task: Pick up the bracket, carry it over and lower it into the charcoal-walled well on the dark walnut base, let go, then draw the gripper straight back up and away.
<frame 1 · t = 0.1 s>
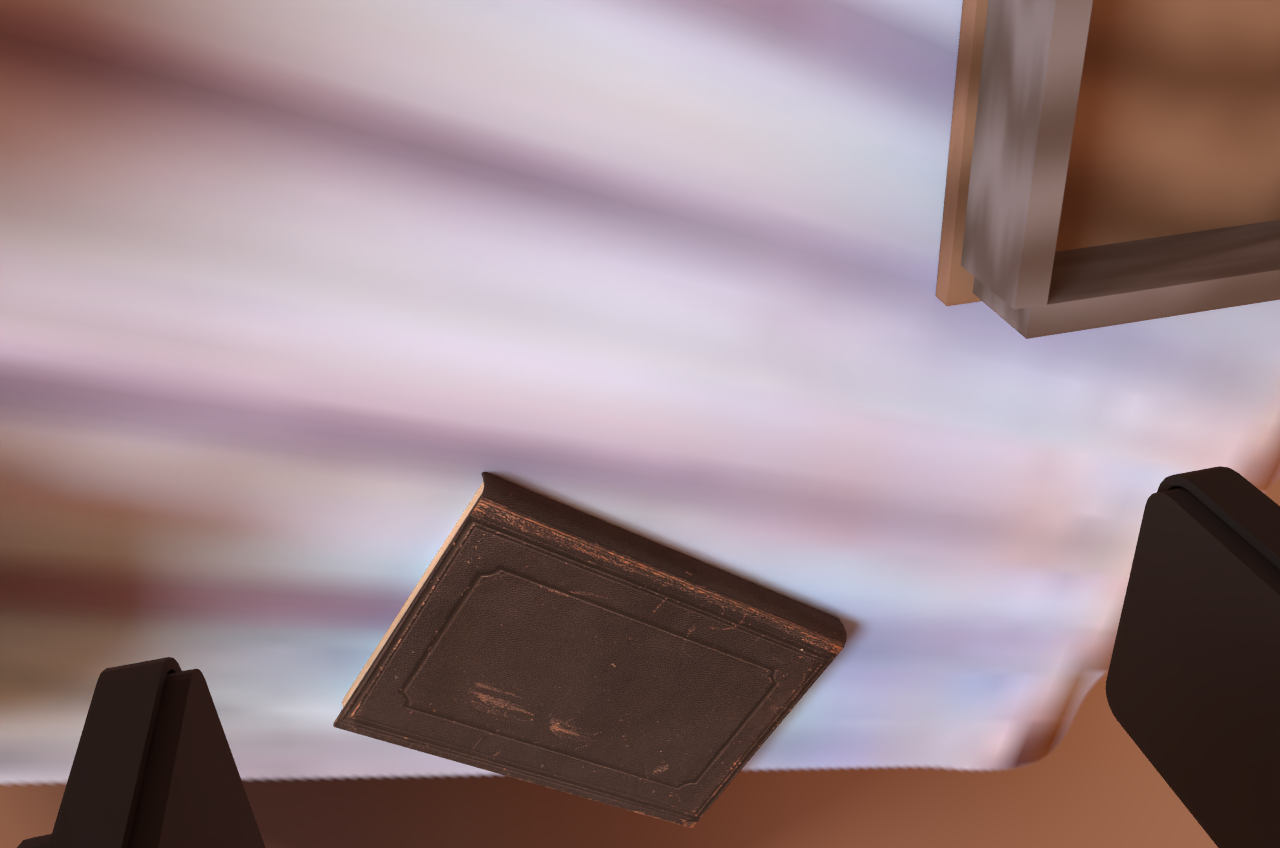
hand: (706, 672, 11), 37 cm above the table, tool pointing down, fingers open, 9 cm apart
well: (1204, 56, 49), on the table
hardcover book: (594, 650, 60), on the table
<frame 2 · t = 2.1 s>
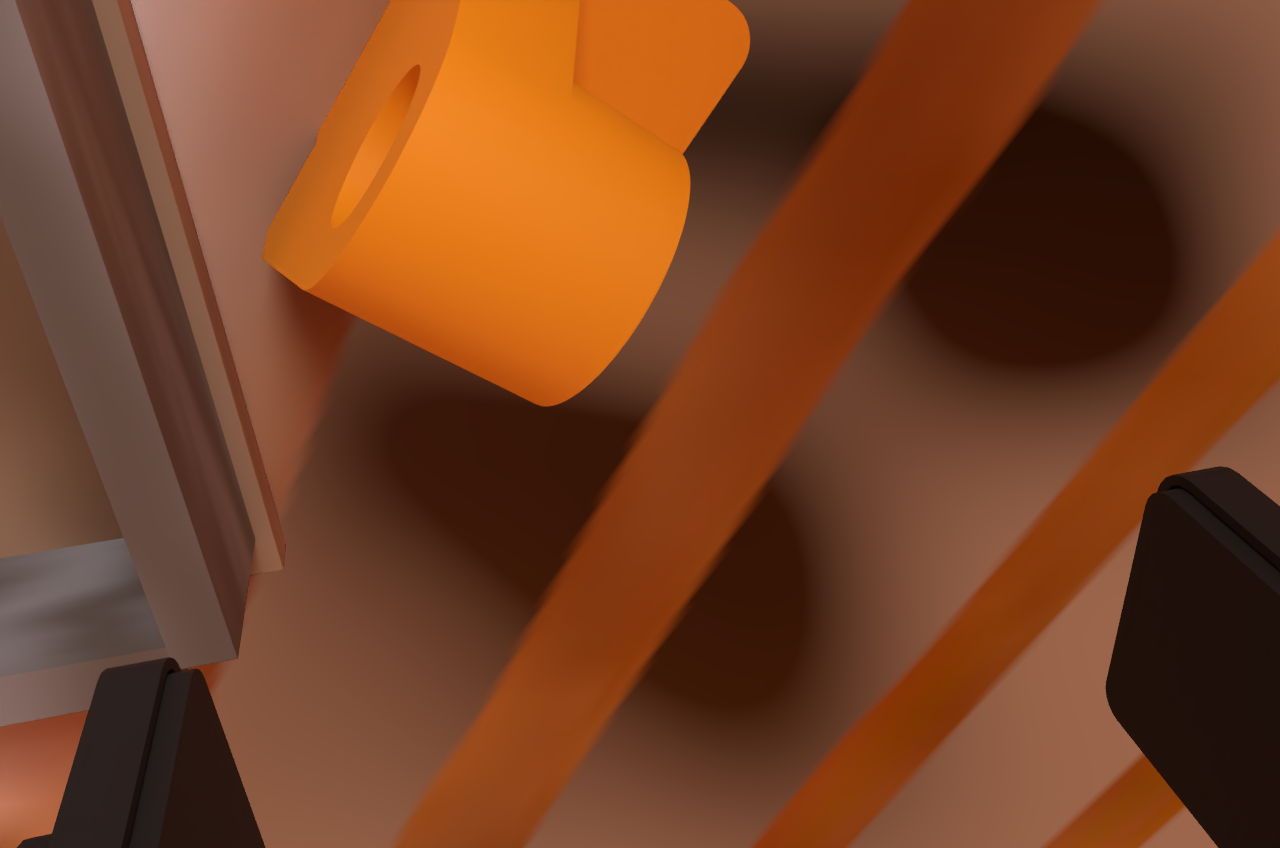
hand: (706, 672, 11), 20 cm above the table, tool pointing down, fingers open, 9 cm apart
bracket: (500, 112, 28), on the table
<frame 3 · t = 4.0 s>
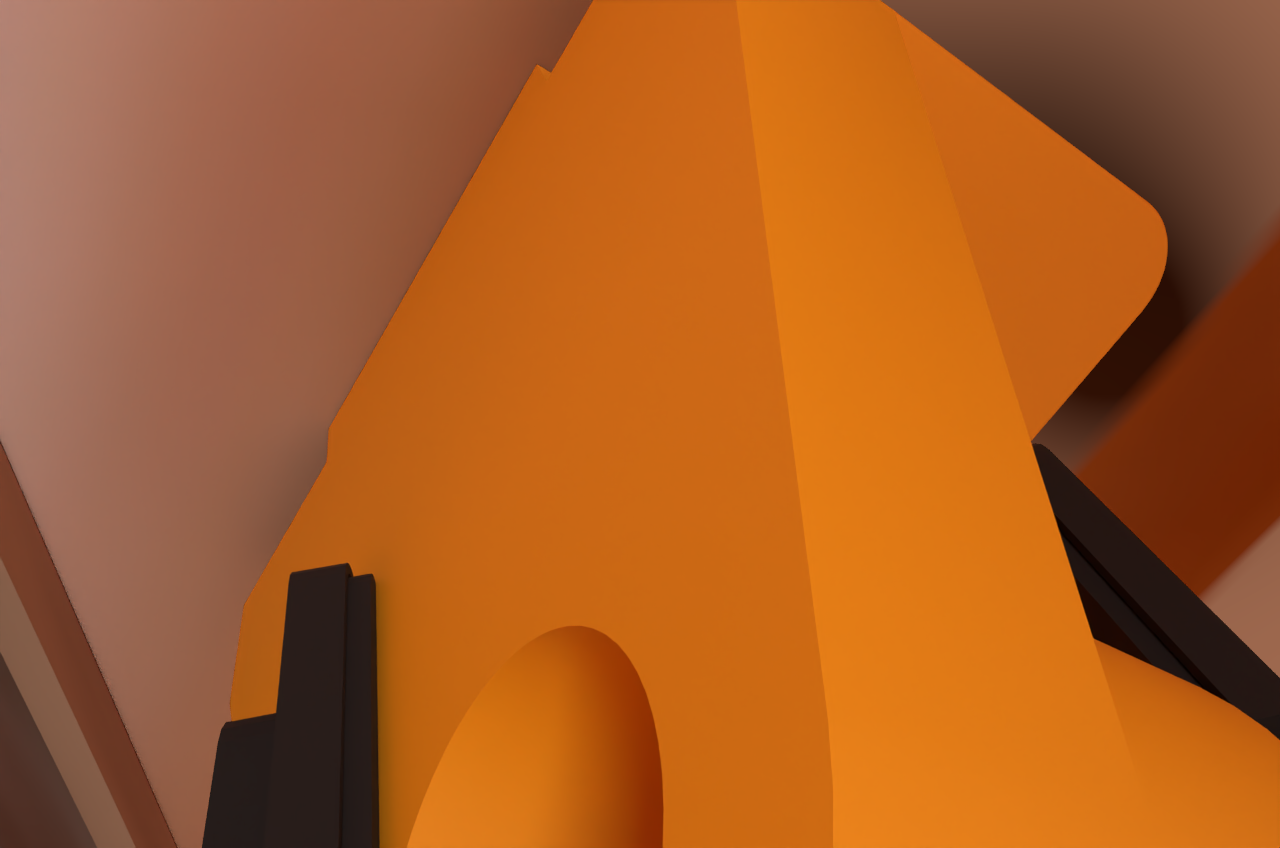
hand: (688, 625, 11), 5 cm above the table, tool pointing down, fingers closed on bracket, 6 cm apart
bracket: (654, 365, 16), on the table, touching gripper
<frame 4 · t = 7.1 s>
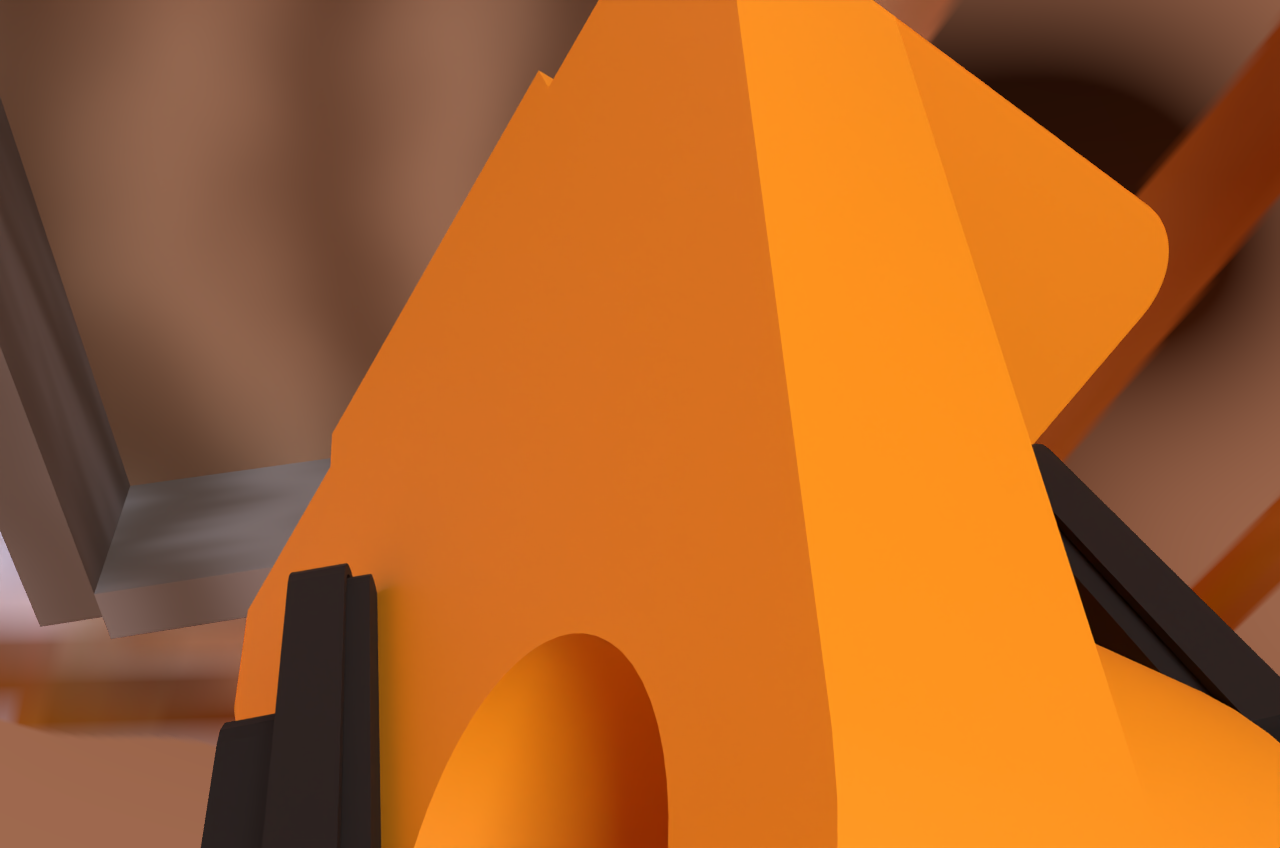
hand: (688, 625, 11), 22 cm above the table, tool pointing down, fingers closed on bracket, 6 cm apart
bracket: (656, 370, 16), point 17 cm above the table, touching gripper
well: (352, 105, 29), on the table
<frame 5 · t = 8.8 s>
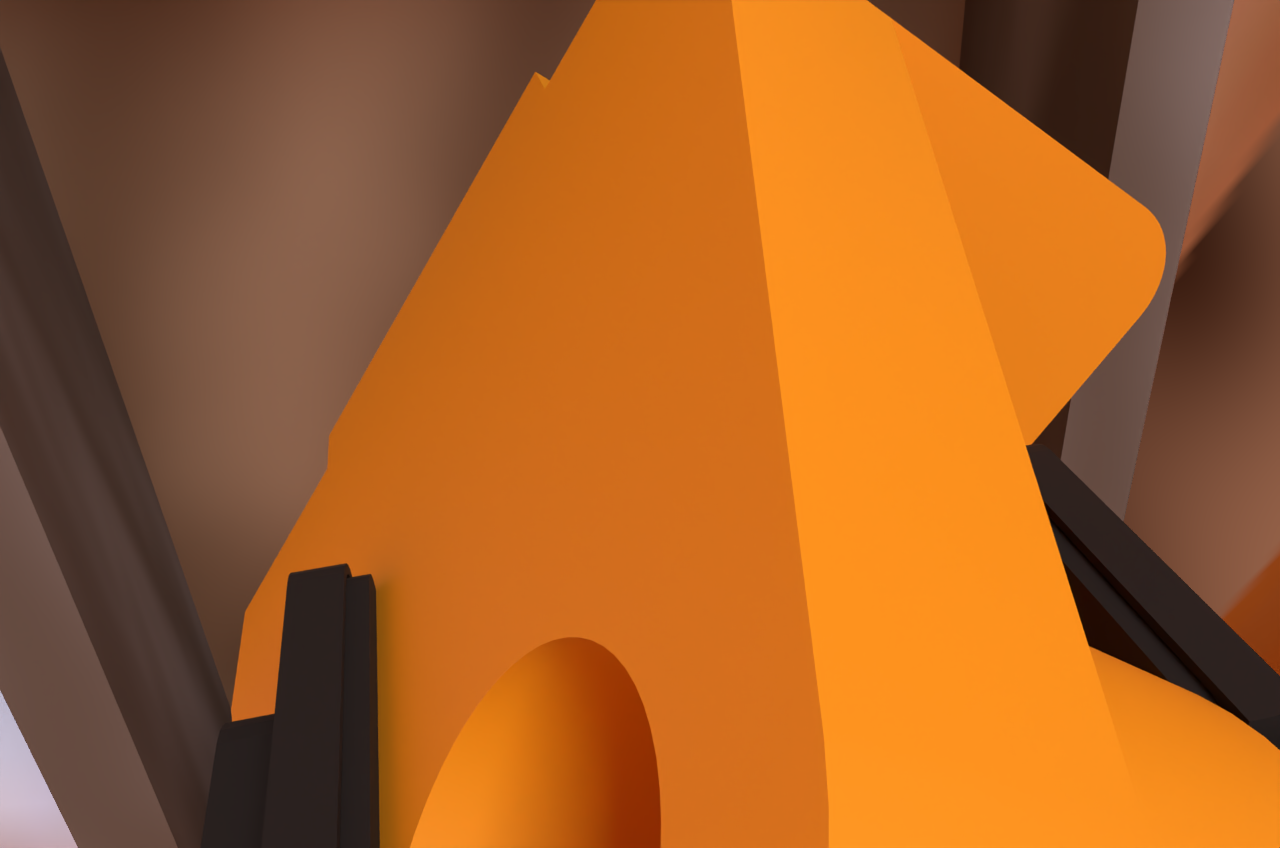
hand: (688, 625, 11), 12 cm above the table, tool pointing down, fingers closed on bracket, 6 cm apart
bracket: (653, 371, 16), point 7 cm above the table, touching gripper
well: (536, 229, 21), on the table
when the fingers open (8 cm above the table, at t = 10.0 s): bracket drops 2 cm, resting on well.
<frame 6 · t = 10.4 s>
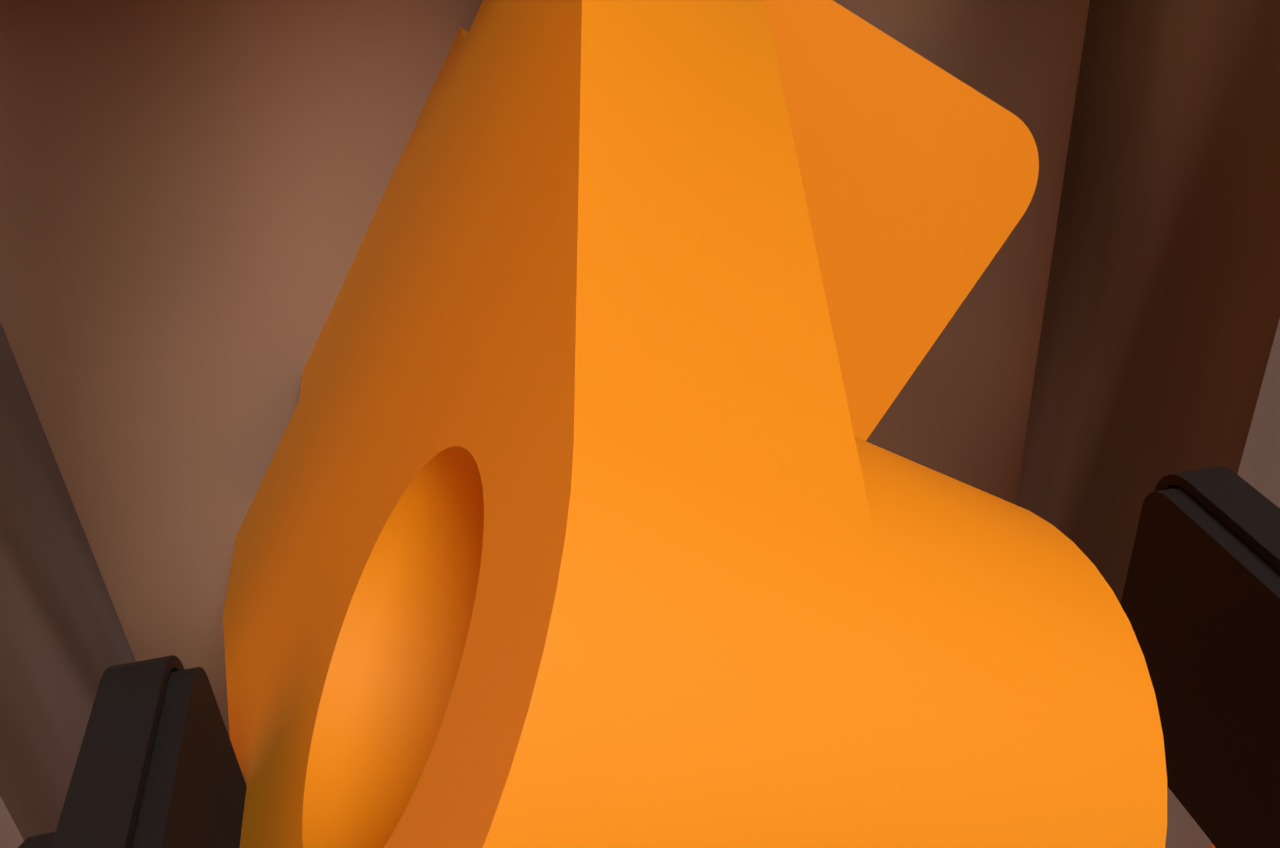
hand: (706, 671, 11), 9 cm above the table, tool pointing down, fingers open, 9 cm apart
bracket: (595, 301, 17), point 1 cm above the table, touching well
well: (568, 307, 18), on the table
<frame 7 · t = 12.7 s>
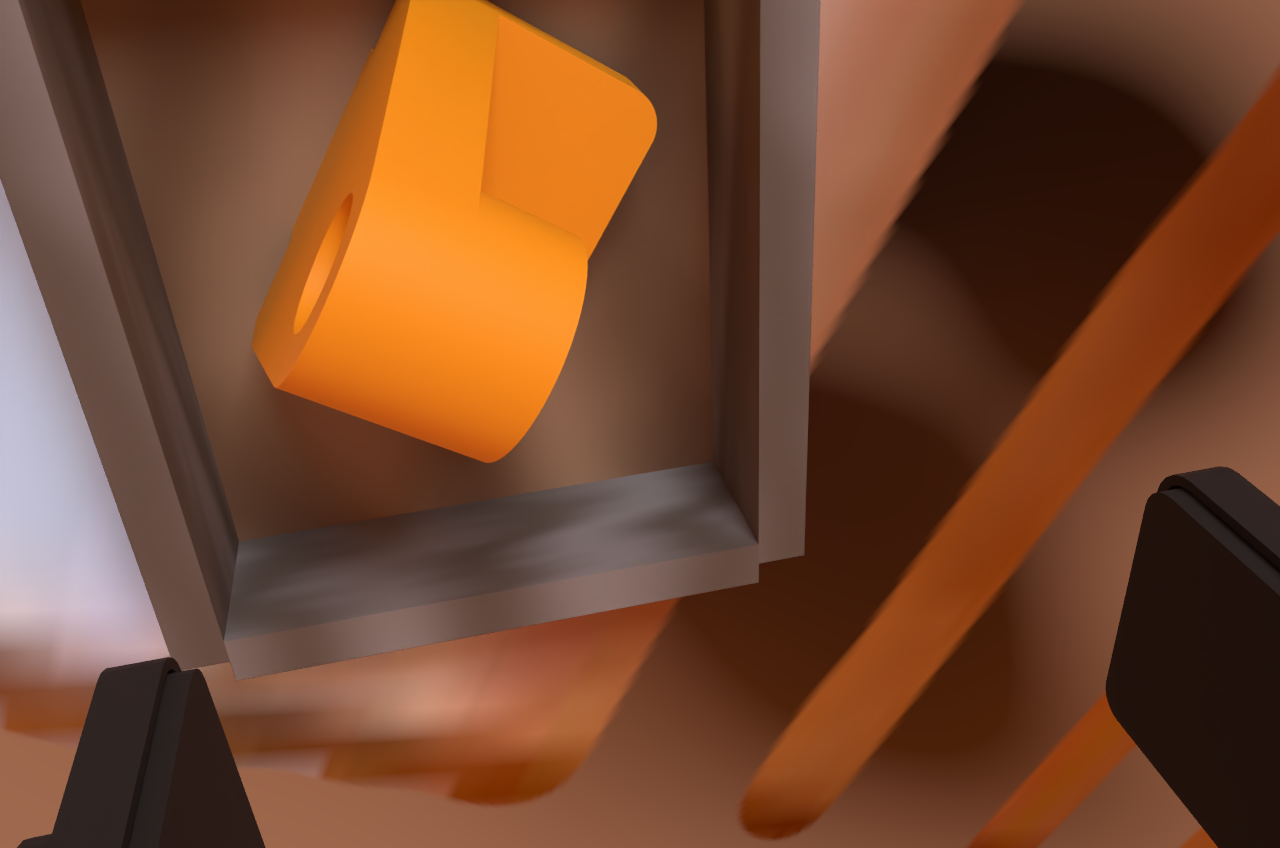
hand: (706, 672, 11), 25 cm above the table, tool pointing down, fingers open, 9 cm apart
bracket: (450, 195, 32), point 1 cm above the table, touching well
well: (439, 202, 33), on the table
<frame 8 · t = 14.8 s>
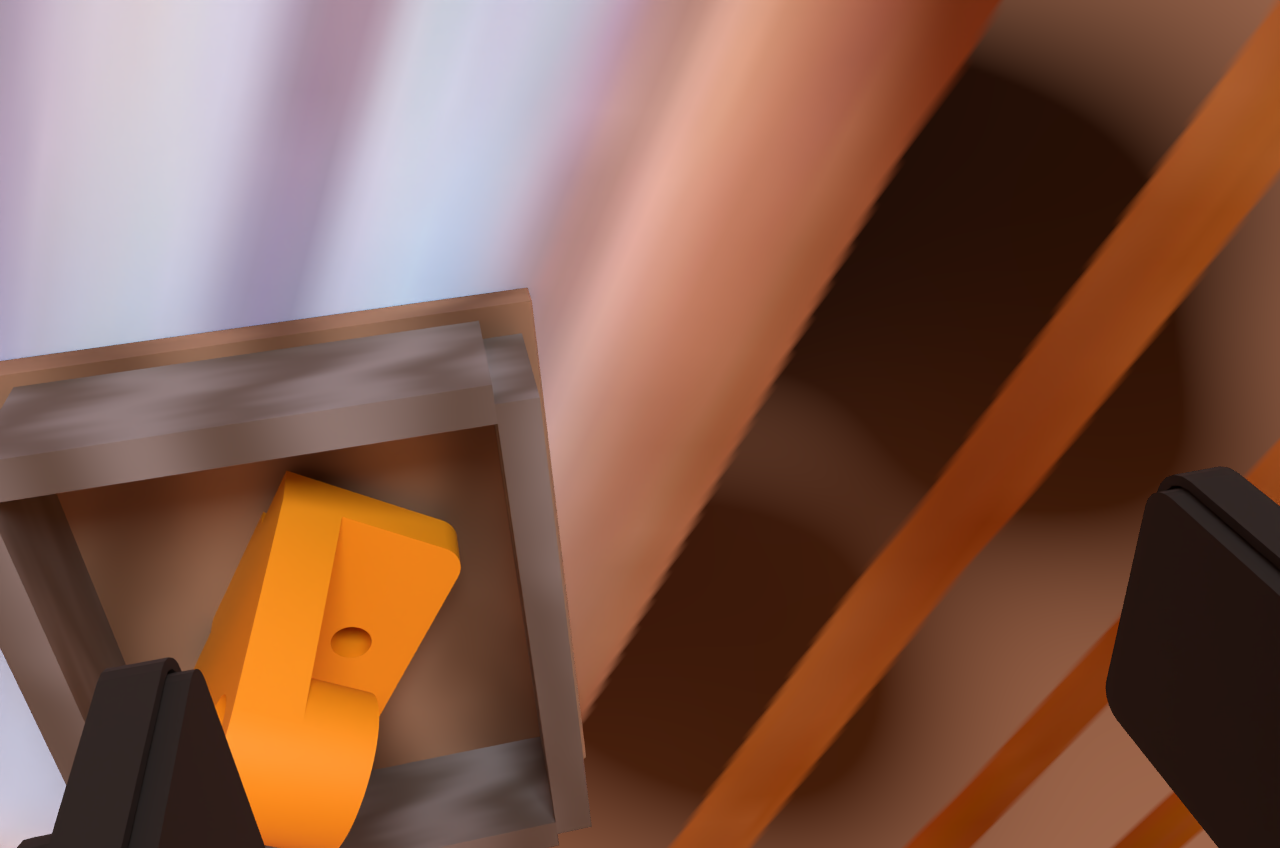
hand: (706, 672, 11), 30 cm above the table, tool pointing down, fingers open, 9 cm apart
bracket: (326, 588, 45), point 1 cm above the table, touching well
well: (321, 584, 46), on the table
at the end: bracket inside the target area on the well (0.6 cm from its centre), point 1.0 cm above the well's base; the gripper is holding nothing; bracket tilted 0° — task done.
